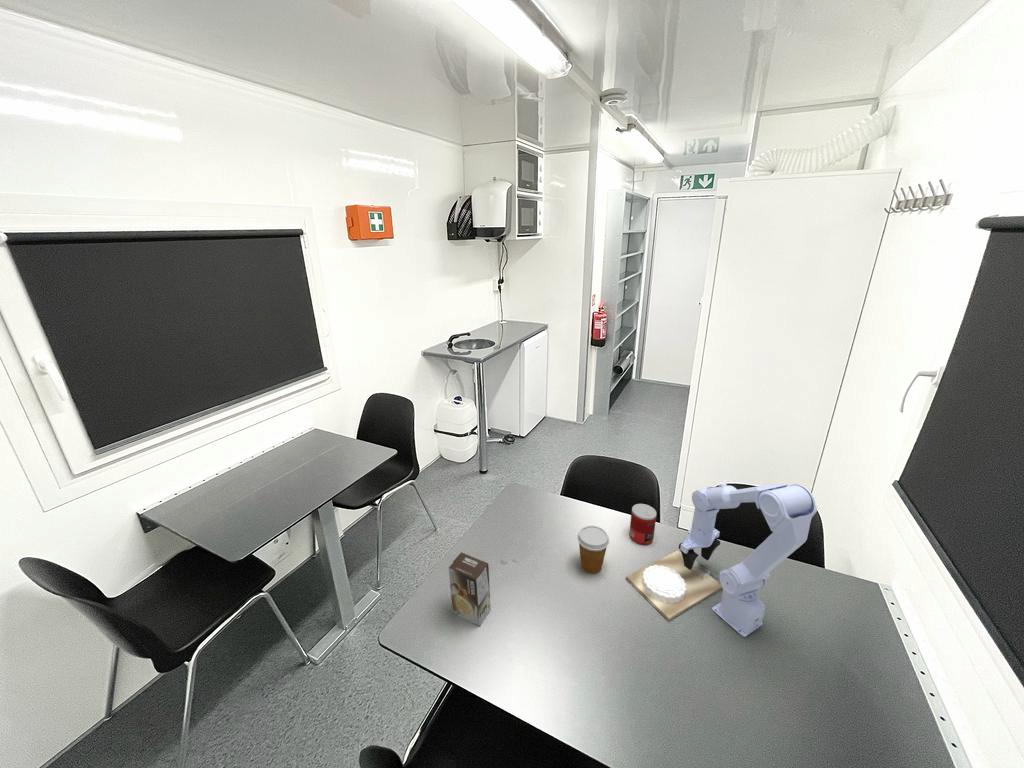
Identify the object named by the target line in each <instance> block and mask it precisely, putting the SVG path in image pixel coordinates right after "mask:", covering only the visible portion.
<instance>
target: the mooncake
mask: <svg viewBox="0 0 1024 768" xmlns="http://www.w3.org/2000/svg"><path fill="white" fill-rule="evenodd" d="M642 584H643V588H644V589H645V590H646V593H647V594H649V595H650V596H651V597H652V598H654V599H656V600H657V601H659V602H663V603H666V604H667V603H671V604H674V603H675V602H676V603H678V602H680V600H683V598H684V596H685V594H686V584H685V583H684V579H683V578H681V576H680V574H678V573H676V571H674V570H671V569H670V568H668V567H664V566H661V565H660V566H658V565H654V566H649V568H646V569H645V571H644V572H643V575H642Z"/></svg>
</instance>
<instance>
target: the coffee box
mask: <svg viewBox="0 0 1024 768" xmlns="http://www.w3.org/2000/svg"><path fill="white" fill-rule="evenodd" d="M489 571H490V567H489V563H488V562H486V561H484V560H481V559H479V558H476V557H474V556H471V555H469V554H466V553H463V552H460V553H459V554H458V555H457V556H456V557H455V559H454V560H453V561H452V563H451V564H450V566H448V577H449V578H448V579H449V588H450V596H451V598H450V599H451V608H452V614H453V615H456V616H458V617H460V618H462V619H464V620H466V621H468V622H470V623H472V624H474V625H476V626H478V627H481V625H482V624H483V622H484V621H485V620H486V618H487V617H488V615H489V613H490V612H491V609H492V606H491V605H492V604H491V589H490V574H489V573H490V572H489Z"/></svg>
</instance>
